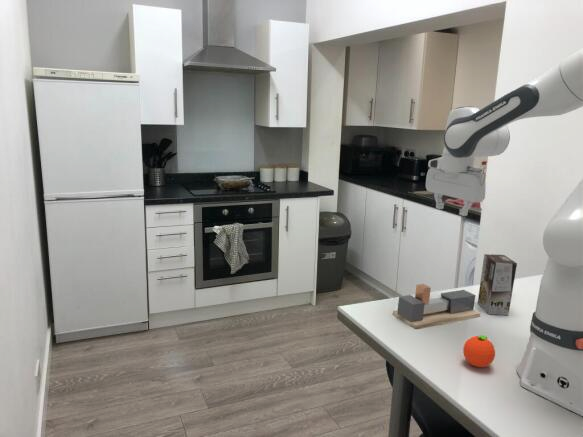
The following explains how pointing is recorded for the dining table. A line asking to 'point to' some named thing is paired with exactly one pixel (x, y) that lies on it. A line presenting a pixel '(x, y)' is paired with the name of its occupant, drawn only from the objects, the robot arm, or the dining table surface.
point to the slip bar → (431, 300)
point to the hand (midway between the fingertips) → (451, 211)
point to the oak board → (439, 318)
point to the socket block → (410, 308)
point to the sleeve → (460, 301)
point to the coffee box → (496, 284)
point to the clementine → (479, 351)
